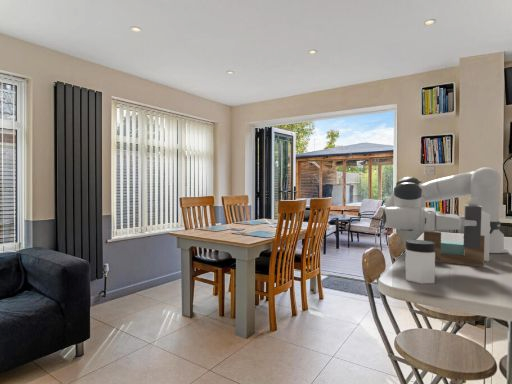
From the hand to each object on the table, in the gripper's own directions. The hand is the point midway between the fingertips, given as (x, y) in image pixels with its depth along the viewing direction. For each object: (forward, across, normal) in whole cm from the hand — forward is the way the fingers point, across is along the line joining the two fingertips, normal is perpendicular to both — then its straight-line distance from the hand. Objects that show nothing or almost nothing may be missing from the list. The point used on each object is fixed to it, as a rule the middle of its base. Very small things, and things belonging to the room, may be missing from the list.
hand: (475, 222), depth 110 cm
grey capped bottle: (-1, 0, -8) cm, 9 cm away
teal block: (-6, -20, -17) cm, 27 cm away
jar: (-16, +20, -18) cm, 31 cm away
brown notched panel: (-6, -14, -17) cm, 23 cm away
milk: (+4, -28, -18) cm, 33 cm away
